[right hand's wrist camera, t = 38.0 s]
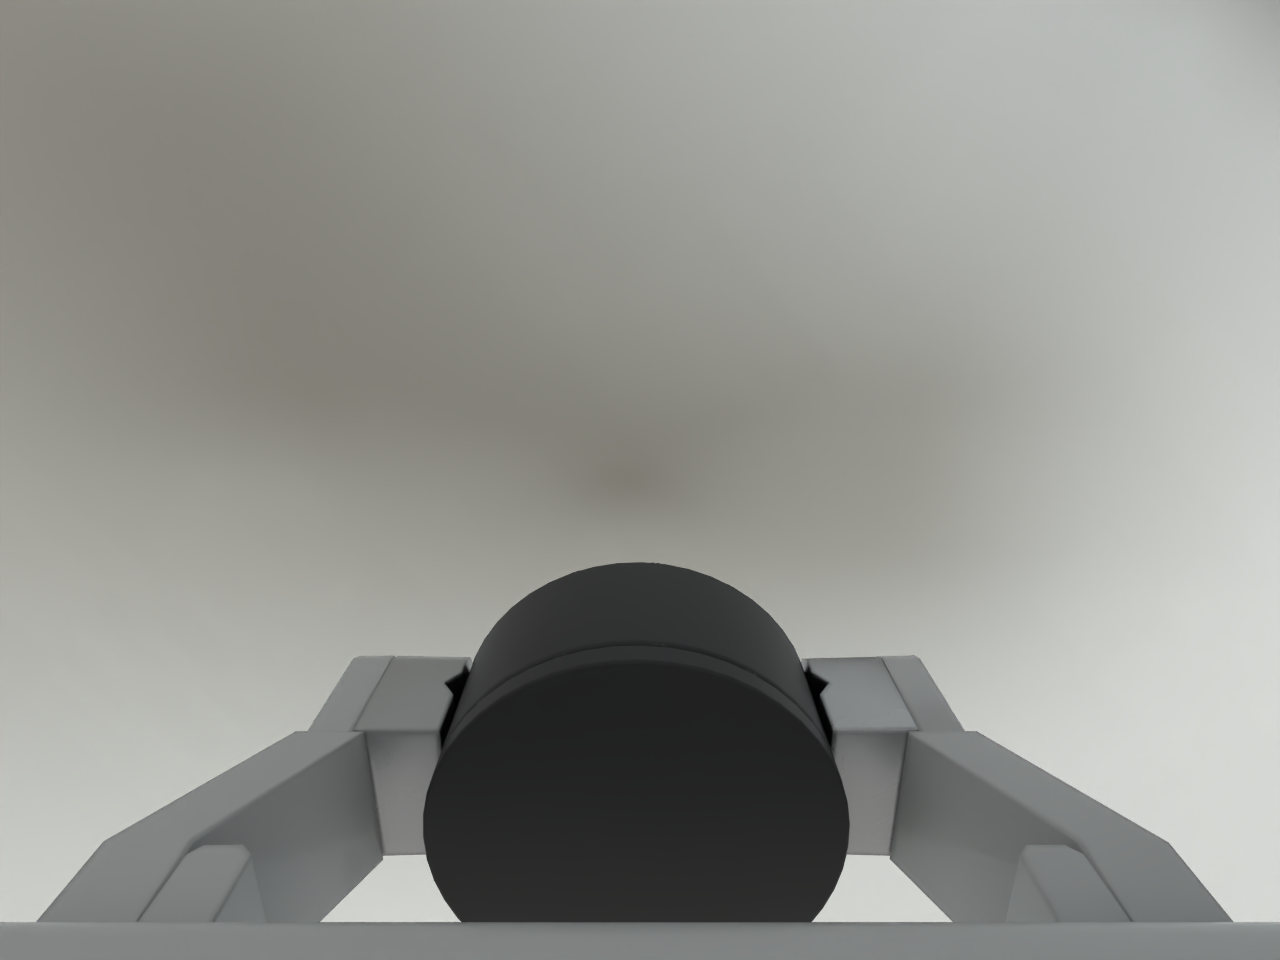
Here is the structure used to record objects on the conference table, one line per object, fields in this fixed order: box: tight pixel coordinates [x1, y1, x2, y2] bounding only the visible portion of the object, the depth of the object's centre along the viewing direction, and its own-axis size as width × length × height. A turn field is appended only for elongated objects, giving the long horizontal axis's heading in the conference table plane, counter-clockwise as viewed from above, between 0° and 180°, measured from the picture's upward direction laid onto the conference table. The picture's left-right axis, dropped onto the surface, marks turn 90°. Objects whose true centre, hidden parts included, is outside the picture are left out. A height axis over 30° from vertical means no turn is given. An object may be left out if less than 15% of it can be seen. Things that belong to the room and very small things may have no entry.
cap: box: [423, 562, 850, 922], centre depth 9 cm, size 4×4×2 cm
